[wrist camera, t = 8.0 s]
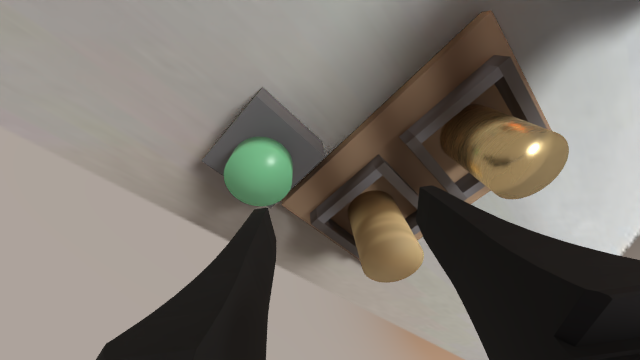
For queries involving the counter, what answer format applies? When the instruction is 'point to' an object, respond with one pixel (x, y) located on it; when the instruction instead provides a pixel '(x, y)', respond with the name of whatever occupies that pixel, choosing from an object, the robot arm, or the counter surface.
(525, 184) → the cylinder
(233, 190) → the button
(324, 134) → the counter surface
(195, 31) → the counter surface
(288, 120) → the button box
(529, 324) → the robot arm
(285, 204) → the wooden fixture board
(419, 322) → the counter surface
